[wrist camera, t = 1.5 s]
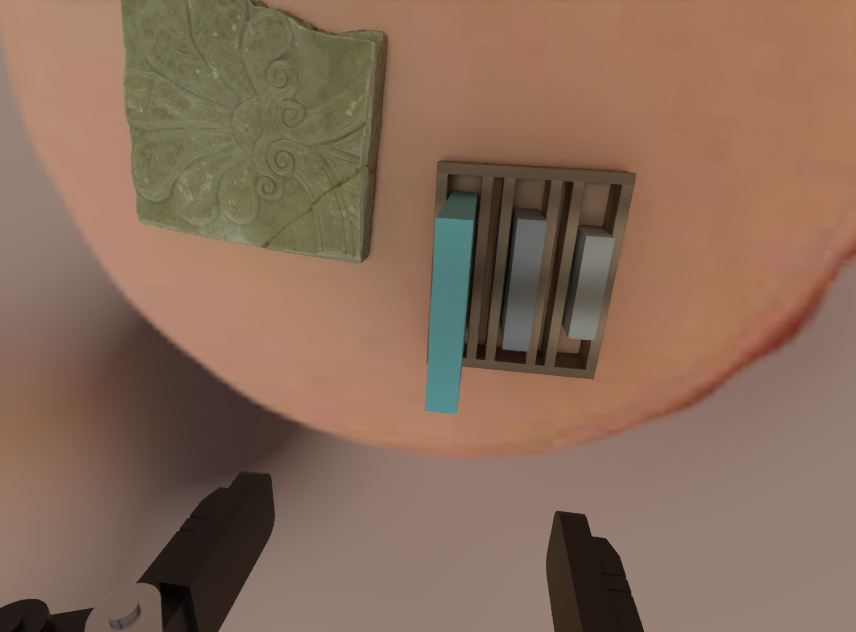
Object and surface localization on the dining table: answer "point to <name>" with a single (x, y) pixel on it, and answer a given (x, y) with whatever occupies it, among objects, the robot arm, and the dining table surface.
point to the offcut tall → (522, 277)
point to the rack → (614, 224)
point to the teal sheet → (449, 300)
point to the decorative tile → (253, 125)
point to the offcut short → (587, 281)
